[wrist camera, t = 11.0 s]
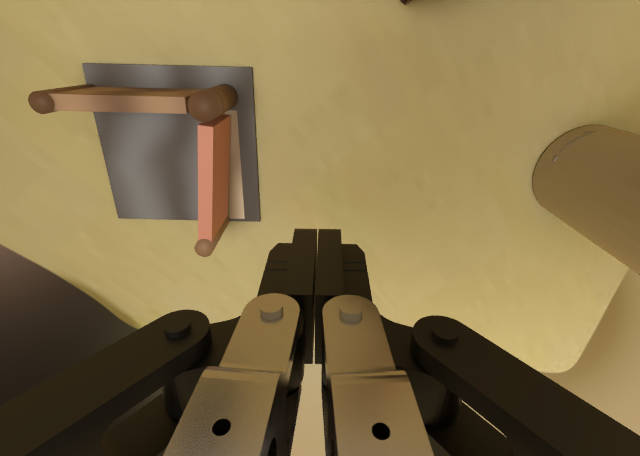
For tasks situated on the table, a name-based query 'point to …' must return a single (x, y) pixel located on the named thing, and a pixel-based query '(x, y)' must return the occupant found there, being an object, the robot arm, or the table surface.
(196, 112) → the grey and brown panels
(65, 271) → the table surface
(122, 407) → the robot arm
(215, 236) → the swing panel
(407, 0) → the letter holder
